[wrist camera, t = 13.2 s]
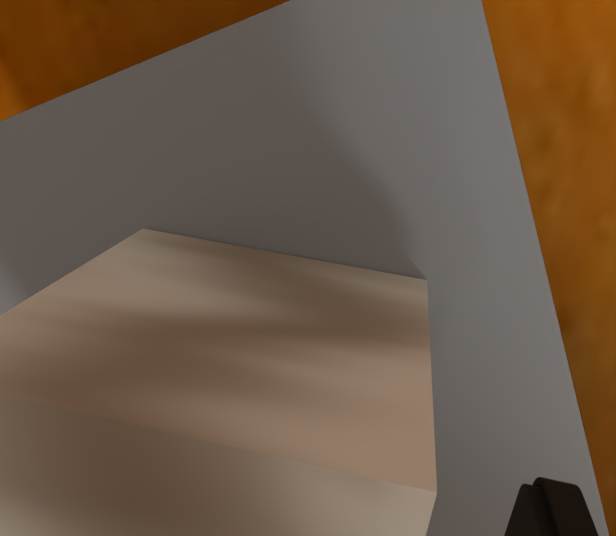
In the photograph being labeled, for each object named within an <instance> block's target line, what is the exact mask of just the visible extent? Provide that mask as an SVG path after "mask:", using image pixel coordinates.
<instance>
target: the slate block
mask: <svg viewBox="0 0 616 536" xmlns="http://www.w3.org/2000/svg"><path fill="white" fill-rule="evenodd" d="M143 228H144V229H149V230H155V231H160V232H166V233H171V234H177V235H182V236H188V237H193V238H199V239H204V240H210V241H215V242H221V243H226V244H232V245H237V246H243V247H248V248H254V249H259V250H265V251H270V252H276V253H281V254H287V255H292V256H298V257H303V258H309V259H314V260H320V261H325V262H331V263H336V264H342V265H347V266H353V267H358V268H364V269H369V270H375V271H380V272H386V273H391V274H397V275H402V276H408V277H413V278H419V279H424V280H427V285H428V307H429V328H430V350H431V372H432V393H433V415H434V436H435V458H436V479H437V495H436V499H435V503H434V507H433V510H432V514H431V518H430V522H429V525H428V529H427V533H426V536H504V535H505V532H506V529H507V525H508V522H509V519H510V516H511V513H512V510H513V507H514V504H515V501H516V498H517V495H518V492H519V489H520V487H521V485H522V484H524V483H525V484H529V485H533V482H534V480H535V479H536V478H537V477H543V478H548V479H552V480H557V481H561V482H566V483H571V484H575V485H577V486H578V487H579V488H580V490H581V492H582V494H583V497H584V499H585V502H586V504H587V507H588V509H589V512H590V515H591V517H592V520H593V522H594V525H595V527H596V530H597V533H598V535H599V536H609V532H608V528H607V524H606V520H605V515H604V511H603V507H602V503H601V499H600V495H599V490H598V486H597V482H596V478H595V474H594V469H593V465H592V461H591V457H590V453H589V449H588V444H587V440H586V436H585V432H584V428H583V423H582V419H581V415H580V411H579V407H578V403H577V398H576V394H575V390H574V386H573V382H572V377H571V373H570V369H569V365H568V361H567V357H566V352H565V348H564V344H563V340H562V336H561V331H560V327H559V323H558V319H557V315H556V311H555V306H554V302H553V298H552V294H551V290H550V285H549V281H548V277H547V273H546V269H545V265H544V260H543V256H542V252H541V248H540V244H539V239H538V235H537V231H536V227H535V223H534V219H533V214H532V210H531V206H530V202H529V198H528V193H527V189H526V185H525V181H524V177H523V173H522V168H521V164H520V160H519V156H518V152H517V147H516V143H515V139H514V135H513V131H512V127H511V122H510V118H509V114H508V110H507V106H506V101H505V97H504V93H503V89H502V85H501V81H500V76H499V72H498V68H497V64H496V60H495V55H494V51H493V47H492V43H491V39H490V35H489V30H488V26H487V22H486V18H485V14H484V9H483V5H482V1H481V0H290V1H287V2H285V3H282V4H280V5H278V6H275V7H273V8H270V9H268V10H266V11H263V12H261V13H258V14H256V15H254V16H251V17H249V18H246V19H244V20H242V21H239V22H237V23H234V24H232V25H230V26H227V27H225V28H223V29H220V30H218V31H215V32H213V33H211V34H208V35H206V36H203V37H201V38H199V39H196V40H194V41H191V42H189V43H187V44H184V45H182V46H179V47H177V48H175V49H172V50H170V51H167V52H165V53H163V54H160V55H158V56H155V57H153V58H151V59H148V60H146V61H143V62H141V63H139V64H136V65H134V66H131V67H129V68H127V69H124V70H122V71H120V72H117V73H115V74H112V75H110V76H108V77H105V78H103V79H100V80H98V81H96V82H93V83H91V84H88V85H86V86H84V87H81V88H79V89H76V90H74V91H72V92H69V93H67V94H64V95H62V96H60V97H57V98H55V99H52V100H50V101H48V102H45V103H43V104H40V105H38V106H36V107H33V108H31V109H28V110H26V111H24V112H21V113H19V114H16V115H14V116H12V117H9V118H7V119H5V120H2V121H0V315H2V314H3V313H5V312H7V311H8V310H10V309H12V308H13V307H15V306H16V305H18V304H20V303H21V302H23V301H25V300H26V299H28V298H30V297H31V296H33V295H34V294H36V293H38V292H39V291H41V290H43V289H44V288H46V287H48V286H49V285H51V284H53V283H54V282H56V281H57V280H59V279H61V278H62V277H64V276H66V275H67V274H69V273H71V272H72V271H74V270H76V269H77V268H79V267H80V266H82V265H84V264H85V263H87V262H89V261H90V260H92V259H94V258H95V257H97V256H98V255H100V254H102V253H103V252H105V251H107V250H108V249H110V248H112V247H113V246H115V245H117V244H118V243H120V242H121V241H123V240H125V239H126V238H128V237H130V236H131V235H133V234H135V233H136V232H138V231H140V230H141V229H143Z"/></svg>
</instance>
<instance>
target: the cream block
mask: <svg viewBox="0 0 616 536" xmlns="http://www.w3.org/2000/svg"><path fill="white" fill-rule="evenodd" d="M436 495H437V479H436V458H435V436H434V415H433V393H432V372H431V350H430V328H429V307H428V285H427V280H424V279H419V278H413V277H408V276H402V275H397V274H391V273H386V272H380V271H375V270H369V269H364V268H358V267H353V266H347V265H342V264H336V263H331V262H325V261H320V260H314V259H309V258H303V257H298V256H292V255H287V254H281V253H276V252H270V251H265V250H259V249H254V248H248V247H243V246H237V245H232V244H226V243H221V242H215V241H210V240H204V239H199V238H193V237H188V236H182V235H177V234H171V233H166V232H160V231H155V230H149V229H144V228H143V229H141V230H140V231H138V232H136V233H135V234H133V235H131V236H130V237H128V238H126V239H125V240H123V241H121V242H120V243H118V244H117V245H115V246H113V247H112V248H110V249H108V250H107V251H105V252H103V253H102V254H100V255H98V256H97V257H95V258H94V259H92V260H90V261H89V262H87V263H85V264H84V265H82V266H80V267H79V268H77V269H76V270H74V271H72V272H71V273H69V274H67V275H66V276H64V277H62V278H61V279H59V280H57V281H56V282H54V283H53V284H51V285H49V286H48V287H46V288H44V289H43V290H41V291H39V292H38V293H36V294H34V295H33V296H31V297H30V298H28V299H26V300H25V301H23V302H21V303H20V304H18V305H16V306H15V307H13V308H12V309H10V310H8V311H7V312H5V313H3V314H2V315H0V536H426V533H427V529H428V525H429V522H430V518H431V514H432V510H433V507H434V503H435V499H436Z"/></svg>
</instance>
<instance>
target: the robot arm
mask: <svg viewBox="0 0 616 536" xmlns="http://www.w3.org/2000/svg"><path fill="white" fill-rule="evenodd" d="M504 536H599V535H598V533H597V530H596V527H595V525H594V522H593V520H592V517H591V515H590V512H589V509H588V507H587V504H586V502H585V499H584V497H583V494H582V492H581V490H580V488H579V487H578V486H577V485H575V484H571V483H566V482H561V481H557V480H552V479H548V478H543V477H537V478H536V479H535V480H534V482H533V485H529V484H525V483H524V484H522V485H521V487H520V489H519V492H518V495H517V498H516V501H515V504H514V507H513V510H512V513H511V516H510V519H509V522H508V525H507V529H506V532H505V535H504Z"/></svg>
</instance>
